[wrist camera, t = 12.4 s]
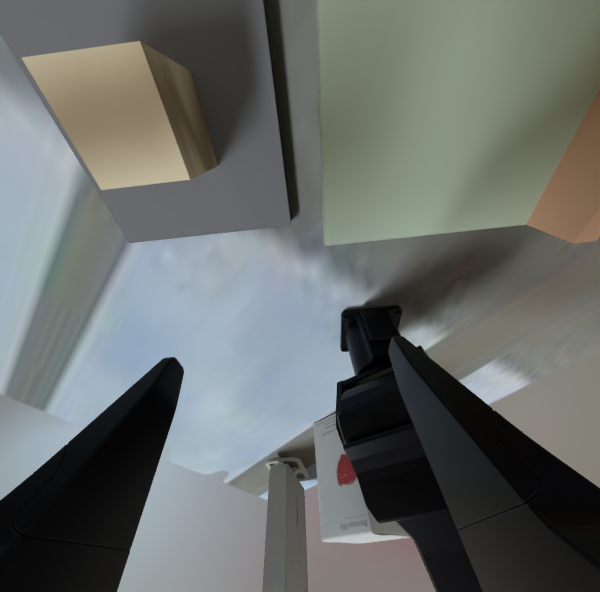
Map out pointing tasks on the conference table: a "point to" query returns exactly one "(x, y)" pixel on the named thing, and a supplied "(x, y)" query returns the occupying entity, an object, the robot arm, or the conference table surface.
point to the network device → (285, 529)
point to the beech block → (127, 113)
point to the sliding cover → (458, 117)
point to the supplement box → (344, 494)
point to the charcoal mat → (212, 94)
